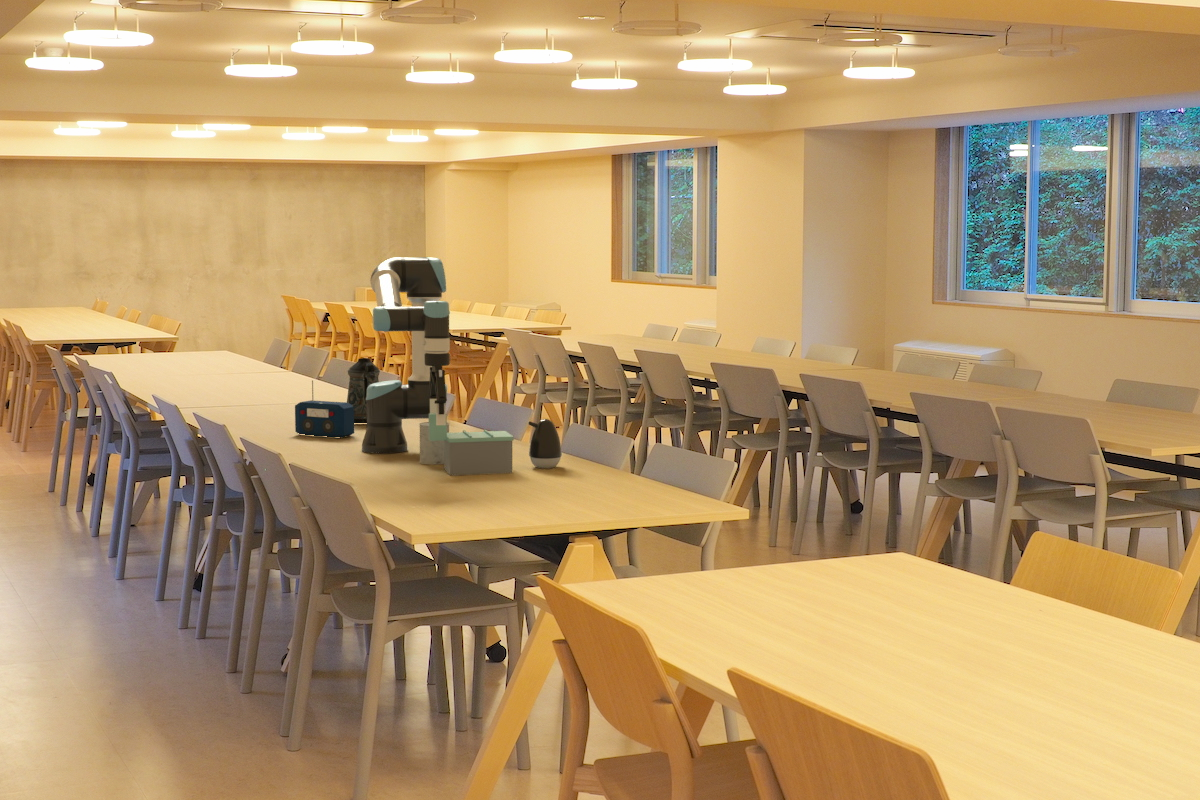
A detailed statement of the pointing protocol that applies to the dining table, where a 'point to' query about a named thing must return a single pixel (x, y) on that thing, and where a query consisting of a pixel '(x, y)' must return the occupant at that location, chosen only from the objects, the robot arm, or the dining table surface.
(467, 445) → the tub
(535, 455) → the pump dispenser
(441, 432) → the ridged green paddle
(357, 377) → the beer stein
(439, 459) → the grey speckled cylinder
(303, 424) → the radio
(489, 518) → the dining table surface
